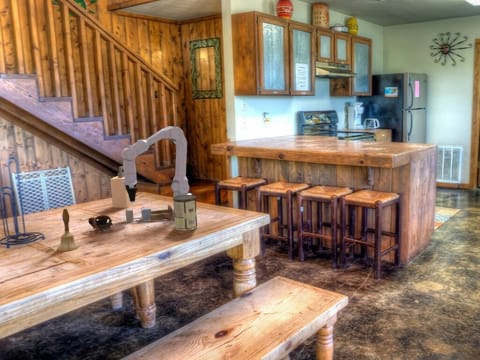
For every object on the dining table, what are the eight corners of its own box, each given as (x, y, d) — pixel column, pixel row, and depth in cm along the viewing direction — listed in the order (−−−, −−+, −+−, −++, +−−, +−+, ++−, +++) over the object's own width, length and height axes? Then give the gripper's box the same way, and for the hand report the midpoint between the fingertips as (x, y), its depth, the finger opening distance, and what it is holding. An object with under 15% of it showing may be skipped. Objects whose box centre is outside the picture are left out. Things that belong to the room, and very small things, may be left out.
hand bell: (72, 243, 181) (68, 205, 179) (83, 247, 176) (79, 208, 173) (53, 248, 175) (48, 209, 172) (64, 252, 170) (59, 212, 167)
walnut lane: (170, 214, 223) (170, 205, 222) (173, 219, 215) (172, 209, 214) (149, 216, 220) (148, 207, 220) (151, 221, 212) (150, 211, 211)
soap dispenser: (126, 207, 241) (123, 168, 238) (112, 207, 243) (109, 168, 239) (136, 202, 254) (134, 164, 250) (123, 202, 255) (120, 164, 252)
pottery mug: (117, 228, 203) (116, 215, 198) (107, 242, 196) (106, 230, 191) (93, 221, 205) (91, 208, 199) (82, 235, 197) (80, 222, 192)
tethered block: (150, 217, 218) (150, 207, 217) (151, 220, 214) (151, 209, 213) (126, 220, 215) (125, 209, 214) (126, 222, 211) (125, 211, 210)
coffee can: (182, 223, 206) (180, 194, 204) (201, 225, 202) (200, 195, 199) (170, 229, 197) (168, 198, 194) (189, 231, 192) (188, 200, 190)
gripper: (121, 171, 220) (123, 197, 222) (122, 175, 206) (124, 204, 208) (135, 170, 221) (137, 196, 224) (137, 174, 208) (139, 202, 210)
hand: (132, 200), depth 216 cm, fingers open, 7 cm apart
